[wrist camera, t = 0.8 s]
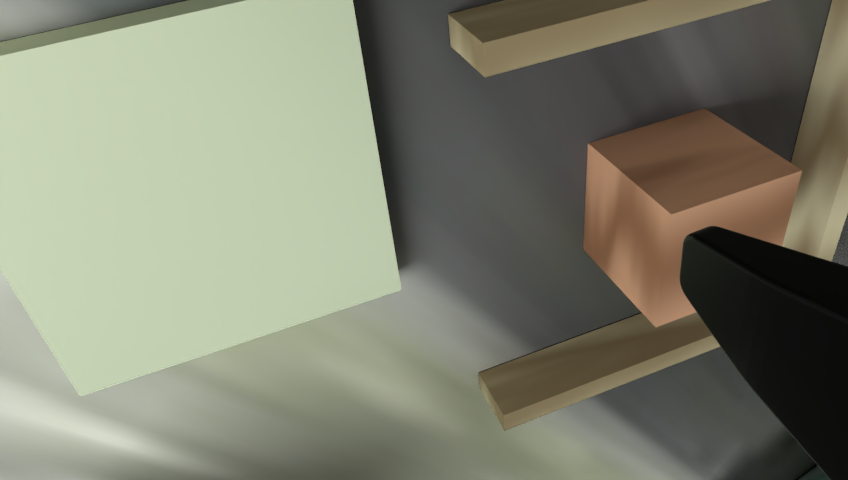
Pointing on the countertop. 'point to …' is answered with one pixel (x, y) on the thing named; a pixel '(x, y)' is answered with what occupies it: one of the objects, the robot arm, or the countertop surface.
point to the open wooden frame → (636, 336)
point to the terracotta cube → (678, 202)
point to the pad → (189, 181)
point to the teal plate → (815, 475)
